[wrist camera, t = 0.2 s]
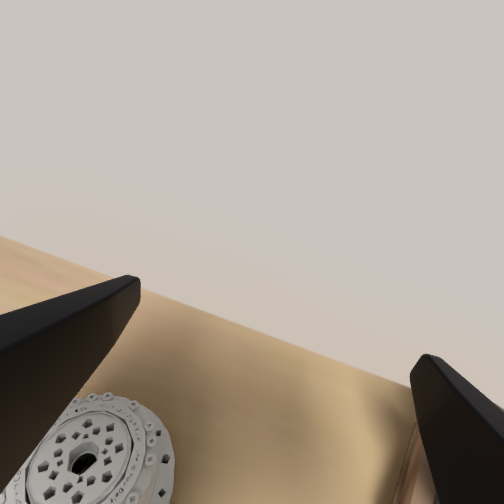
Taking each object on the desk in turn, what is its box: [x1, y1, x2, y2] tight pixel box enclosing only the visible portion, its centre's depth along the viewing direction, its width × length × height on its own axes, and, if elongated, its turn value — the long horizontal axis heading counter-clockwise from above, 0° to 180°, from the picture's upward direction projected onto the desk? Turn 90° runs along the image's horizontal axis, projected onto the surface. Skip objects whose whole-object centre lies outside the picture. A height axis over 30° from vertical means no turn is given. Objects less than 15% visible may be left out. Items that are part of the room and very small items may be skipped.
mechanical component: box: [0, 392, 175, 504], centre depth 15 cm, size 10×4×10 cm
